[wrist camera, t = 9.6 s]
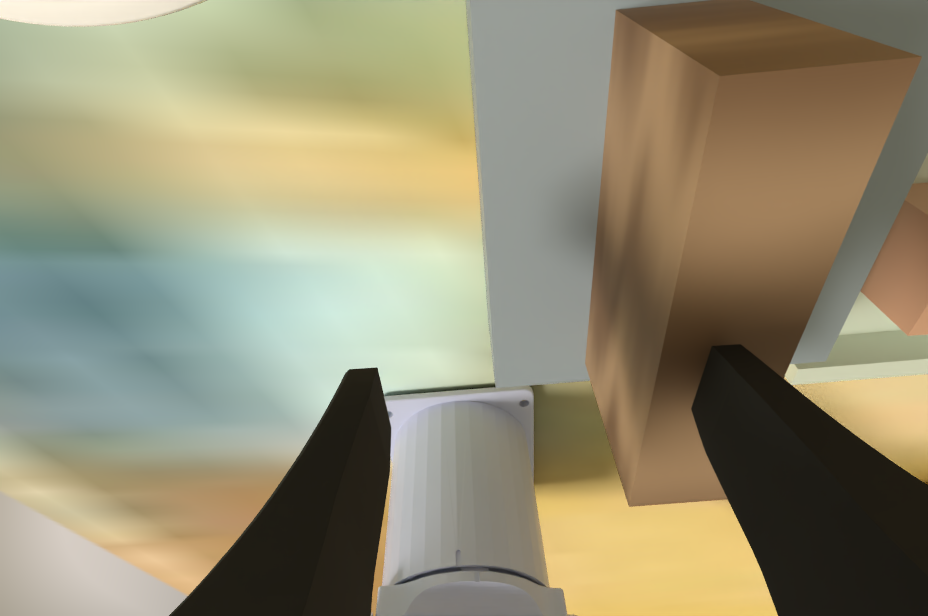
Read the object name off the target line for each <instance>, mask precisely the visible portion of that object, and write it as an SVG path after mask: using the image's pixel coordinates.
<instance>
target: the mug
mask: <svg viewBox="0 0 928 616" xmlns="http://www.w3.org/2000/svg"><path fill="white" fill-rule="evenodd" d="M205 1H207V0H0V19H5V20H11V21H17V22H24V23H31V24H40V25H52V26H106V25H116V24H125V23H131V22H137V21H143V20H147V19H152V18H156V17H160V16H164V15H167V14H171V13H174V12H177V11H180V10H183V9H186V8H189V7H192V6H194V5H197V4H200V3H202V2H205Z"/></svg>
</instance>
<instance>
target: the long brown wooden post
mask: <svg viewBox="0 0 928 616" xmlns="http://www.w3.org/2000/svg"><path fill="white" fill-rule="evenodd" d="M921 58H922V56H919V55H915V54H912V53H909V52H906V51H903V50H900V49H897V48H894V47H891V46H888V45H885V44H882V43H879V42H876V41H873V40H870V39H867V38H864V37H861V36H858V35H854V34H851V33H848V32H845V31H842V30H839V29H836V28H833V27H830V26H827V25H824V24H821V23H818V22H815V21H812V20H809V19H806V18H803V17H800V16H797V15H794V14H790V13H787V12H784V11H781V10H778V9H775V8H772V7H769V6H766V5H763V4H760V3H757V2H754V1H751V0H708V1H698V2H688V3H678V4H668V5H658V6H648V7H638V8H628V9H618V10H616V13H615V24H614V36H613V47H612V59H611V70H610V82H609V93H608V105H607V116H606V128H605V139H604V151H603V162H602V174H601V186H600V197H599V209H598V220H597V232H596V243H595V255H594V266H593V278H592V289H591V301H590V312H589V324H588V335H587V347H586V358H585V365H586V368H587V371H588V375H589V378H590V381H591V385H592V388H593V391H594V394H595V398H596V401H597V404H598V407H599V411H600V414H601V417H602V420H603V424H604V427H605V430H606V433H607V437H608V440H609V443H610V446H611V450H612V453H613V456H614V459H615V463H616V466H617V469H618V473H619V476H620V479H621V482H622V486H623V489H624V492H625V495H626V499H627V502H628V505H629V507H631V506H645V505H658V504H671V503H685V502H698V501H711V500H725V499H727V497H726V495H725V493H724V490H723V488H722V486H721V484H720V482H719V480H718V478H717V476H716V474H715V472H714V470H713V467H712V465H711V463H710V461H709V459H708V457H707V455H706V452H705V450H704V447H703V444H702V441H701V438H700V435H699V432H698V429H697V426H696V423H695V420H694V416H693V413H692V410H691V407H692V404H693V401H694V398H695V395H696V392H697V389H698V386H699V383H700V380H701V377H702V374H703V371H704V368H705V365H706V362H707V359H708V356H709V353H710V350H711V347H712V346H719V345H735V344H741V345H742V346H744V347H745V348H746V349H747V350H749V351H750V352H751V353H753V354H754V355H755V356H756V357H757V358H759V359H760V360H761V361H762V362H764V363H765V364H766V365H767V366H769V367H770V368H771V369H772V370H773V371H775V372H776V373H777V374H778V375H779V376H781V377H782V378H783V379H784V376H785V374H786V372H787V369H788V367H789V365H790V362H791V360H792V358H793V355H794V353H795V351H796V348H797V346H798V344H799V341H800V339H801V337H802V335H803V332H804V330H805V328H806V325H807V323H808V321H809V318H810V316H811V314H812V311H813V309H814V307H815V304H816V302H817V300H818V297H819V295H820V293H821V290H822V288H823V286H824V283H825V281H826V279H827V276H828V274H829V272H830V270H831V267H832V265H833V263H834V260H835V258H836V256H837V253H838V251H839V249H840V246H841V244H842V242H843V239H844V237H845V235H846V232H847V230H848V228H849V225H850V223H851V221H852V218H853V216H854V214H855V211H856V209H857V207H858V205H859V202H860V200H861V198H862V195H863V193H864V191H865V188H866V186H867V184H868V181H869V179H870V177H871V174H872V172H873V170H874V167H875V165H876V163H877V160H878V158H879V156H880V153H881V151H882V149H883V146H884V144H885V142H886V139H887V137H888V135H889V133H890V130H891V128H892V126H893V123H894V121H895V119H896V116H897V114H898V112H899V109H900V107H901V105H902V102H903V100H904V98H905V95H906V93H907V91H908V88H909V86H910V84H911V81H912V79H913V77H914V74H915V72H916V70H917V68H918V65H919V63H920V61H921Z"/></svg>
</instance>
